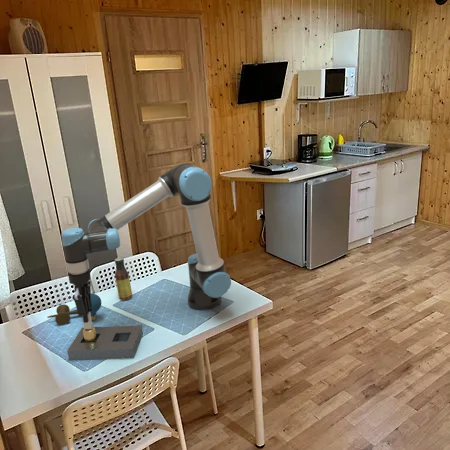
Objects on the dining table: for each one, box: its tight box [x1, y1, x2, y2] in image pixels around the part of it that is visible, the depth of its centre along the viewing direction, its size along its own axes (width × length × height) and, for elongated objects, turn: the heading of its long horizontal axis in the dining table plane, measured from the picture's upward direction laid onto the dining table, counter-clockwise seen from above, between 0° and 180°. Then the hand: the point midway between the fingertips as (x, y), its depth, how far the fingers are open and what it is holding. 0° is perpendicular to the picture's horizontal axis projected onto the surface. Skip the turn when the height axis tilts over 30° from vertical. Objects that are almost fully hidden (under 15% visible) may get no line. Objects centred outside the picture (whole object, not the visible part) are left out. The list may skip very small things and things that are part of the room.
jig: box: [66, 324, 143, 361], centre depth 164 cm, size 24×16×4 cm, turn 89°
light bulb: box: [90, 292, 102, 321], centre depth 183 cm, size 8×8×12 cm
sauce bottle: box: [114, 257, 133, 302], centre depth 199 cm, size 6×6×20 cm
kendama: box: [46, 304, 79, 326], centre depth 186 cm, size 6×10×20 cm
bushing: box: [83, 325, 97, 343], centre depth 163 cm, size 4×4×8 cm
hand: (88, 328), depth 162 cm, fingers closed
